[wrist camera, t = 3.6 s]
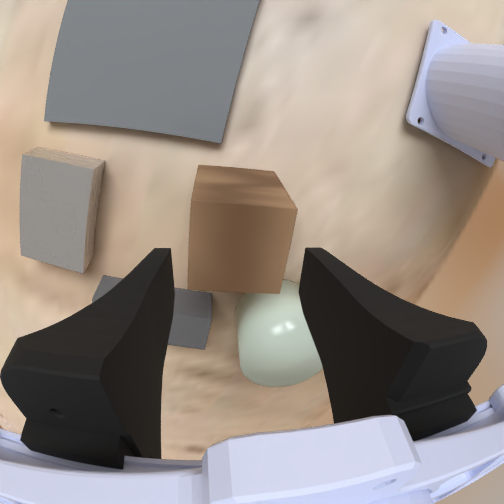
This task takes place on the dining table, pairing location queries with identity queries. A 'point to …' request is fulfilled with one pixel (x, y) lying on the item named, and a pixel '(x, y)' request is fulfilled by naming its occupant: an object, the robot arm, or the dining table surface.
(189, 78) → the slate coaster
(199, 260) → the walnut block
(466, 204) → the dining table surface
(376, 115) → the dining table surface
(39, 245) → the grey topped wooden block
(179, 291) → the charcoal rubber bar
